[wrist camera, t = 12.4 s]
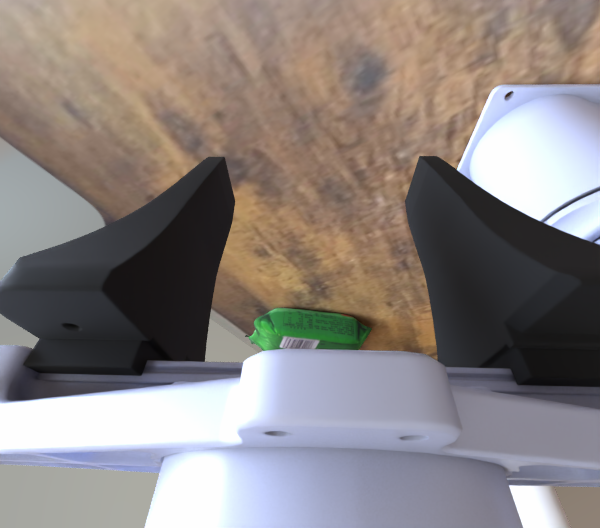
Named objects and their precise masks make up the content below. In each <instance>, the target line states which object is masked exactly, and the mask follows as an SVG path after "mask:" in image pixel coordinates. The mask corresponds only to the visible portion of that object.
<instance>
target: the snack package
mask: <svg viewBox="0 0 600 528" xmlns="http://www.w3.org/2000/svg"><path fill="white" fill-rule="evenodd" d="M254 326H255V332H254V334H253V335H252V336H247V335H246V336H245V337H249V339H250V340H251V343H252V344H253V343H254V344H256V345H258V346H259V347H260V348H261V349H262V350H263V351H267V350H278V349H325V350H359V348H360V347H361V345H362V344H363V342H364V341H365V340H366V338H367V336H368V335H369V333H370V332H371V330H372V328H370V327H367V326H364V325H363V324H361V323H360V322H359V321H358V320H356V319H355V318H353V317H352V316H349V315H345V314H338V313H326V312H319V311H311V310H302V309H291V308H275V309H273V310H272V311H270V312H269V313H267V314H265V315H263V316H260V317H258V318H257V319H256V320H255V322H254Z"/></svg>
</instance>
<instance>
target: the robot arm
mask: <svg viewBox="0 0 600 528" xmlns="http://www.w3.org/2000/svg"><path fill="white" fill-rule="evenodd" d="M510 91H512V93H511V95H510V96H509V97H507V98H505V95H506V94H507V93H508V92H510ZM405 205H406V212H407V218H408V224H409V227H410V230H411V233H412V236H413V240H414V243H415V246H416V249H417V252H418V255H419V258H420V261H421V264H422V267H423V270H424V274H425V278H426V282H427V288H428V293H429V298H430V304H431V310H432V316H433V322H434V330H435V338H436V345H437V355H438V361H436V360H435V359H433V358H431V357H430V356H428V355H426V354H420V353H413V352H406V351H372V350H325V349H278V350H267V351H262V352H260V353H258V354H256V355H254V356H251V357H249V358H248V359H246V360H245V361H244V363H239V362H205V352H206V342H207V334H208V326H209V318H210V312H211V305H212V298H213V292H214V287H215V281H216V276H217V272H218V268H219V264H220V261H221V258H222V254H223V251H224V248H225V245H226V241H227V238H228V235H229V231H230V228H231V224H232V219H233V213H234V206H235V199H234V195H233V190H232V186H231V182H230V178H229V174H228V170H227V165H226V161H225V157H208V158H206V159H205V160H203V161H202V162H201V163H200V164H198V165H197V166H196V167H195V168H194V169H192V170H191V171H190V172H189V173H188V174H186V175H185V176H184V177H183V178H181V179H180V180H179V181H178V182H177V183H175V184H174V185H173V186H171V187H170V188H169V189H167V190H166V191H165V192H163V193H162V194H161V195H159V196H158V197H157V198H155V199H154V200H152V201H151V202H149V203H148V204H146V205H144V206H143V207H141V208H139V209H138V210H136V211H134V212H133V213H131V214H129V215H127V216H125V217H123V218H121V219H119V220H117V221H115V222H113V223H111V224H109V225H107V226H105V227H103V228H101V229H99V230H97V231H94V232H92V233H89V234H87V235H85V236H82V237H80V238H77V239H74V240H72V241H69V242H66V243H64V244H61V245H58V246H55V247H52V248H49V249H45V250H42V251H39V252H36V253H33V254H30V255H27V256H23V257H20V258H19V259H18V260H17V262H16V263H15V264H14V265H13V266H12V268H11V269H10V270H9V271H8V272H7V274H6V275H5V276H4V277H3V278H2V280H1V281H0V314H2V315H3V316H4V317H6V318H7V319H9V320H11V321H12V322H14V323H15V324H17V325H19V326H20V327H22V328H23V329H25V330H27V331H28V332H30V333H31V334H33V335H35V336H36V337H38V338H40V339H39V341H38V342H37V344H36V345H35V347H34V348H33V349H32V348H29V347H25V346H18V345H0V464H6V465H32V466H51V467H69V468H87V469H103V470H120V471H136V472H152V473H160V474H159V478H158V481H157V485H156V489H155V492H154V496H153V499H152V503H151V507H150V511H149V514H148V518H147V521H146V525H145V528H523V525H522V522H521V519H520V516H519V513H518V510H517V507H516V505H515V502H514V499H513V496H512V493H511V490H510V487H509V486H576V487H600V84H521V85H499V86H497V87H495V88H494V89H493V90H492V92H491V93H490V95H489V98H488V100H487V102H486V105H485V107H484V109H483V111H482V114H481V116H480V118H479V120H478V123H477V125H476V127H475V130H474V132H473V134H472V136H471V139H470V141H469V143H468V145H467V148H466V150H465V152H464V155H463V157H462V159H461V161H460V164H459V166H458V168H457V170H456V169H455V168H454V167H452V166H451V165H449V164H448V163H447V162H445V161H444V160H442V159H441V158H439V157H437V156H419V160H418V163H417V166H416V169H415V172H414V175H413V178H412V182H411V185H410V188H409V191H408V194H407V197H406V200H405Z"/></svg>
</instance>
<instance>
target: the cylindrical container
mask: <svg viewBox="0 0 600 528" xmlns="http://www.w3.org/2000/svg"><path fill="white" fill-rule="evenodd" d="M509 487H510V490H511V493H512V496H513V499H514V502H515V505H516V507H517V510H518V513H519V516H520V519H521V522H522V525H523V528H571V526H570V524H569V521H568V519H567V516H566V514H565V512H564V509H563V507H562V504H561V502H560V499H559V498H558V495H557V492H556V490H555V487H554V486H509Z"/></svg>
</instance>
